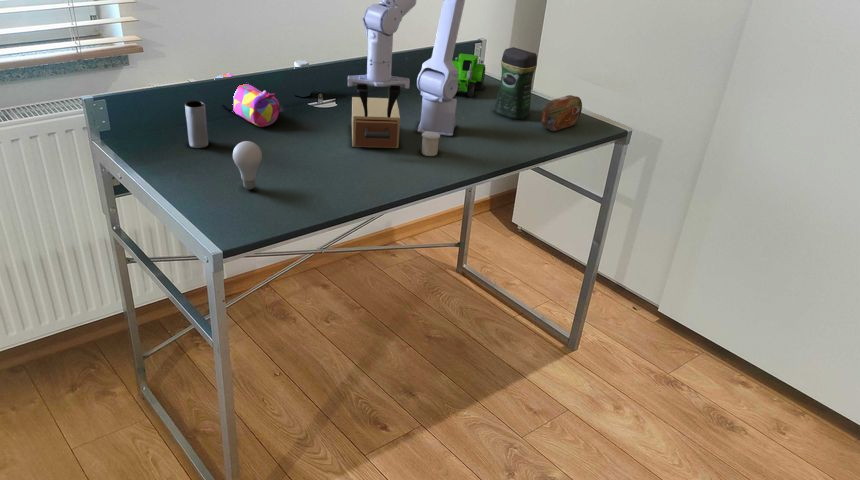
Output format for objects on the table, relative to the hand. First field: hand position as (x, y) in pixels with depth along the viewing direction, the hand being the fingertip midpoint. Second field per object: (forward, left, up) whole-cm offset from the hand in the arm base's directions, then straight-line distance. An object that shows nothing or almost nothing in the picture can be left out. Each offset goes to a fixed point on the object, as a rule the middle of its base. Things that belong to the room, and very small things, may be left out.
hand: (377, 115), depth 177 cm
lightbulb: (+23, +28, -10) cm, 38 cm away
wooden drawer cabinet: (+2, -9, -9) cm, 13 cm away
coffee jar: (-34, -37, -10) cm, 51 cm away
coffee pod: (-13, -3, -9) cm, 16 cm away
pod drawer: (+1, -5, -8) cm, 10 cm away
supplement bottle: (+27, -34, -10) cm, 45 cm away
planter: (+42, +8, -10) cm, 44 cm away
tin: (-47, -31, -10) cm, 57 cm away
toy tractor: (-19, -54, -10) cm, 58 cm away
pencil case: (+37, -14, -10) cm, 41 cm away
